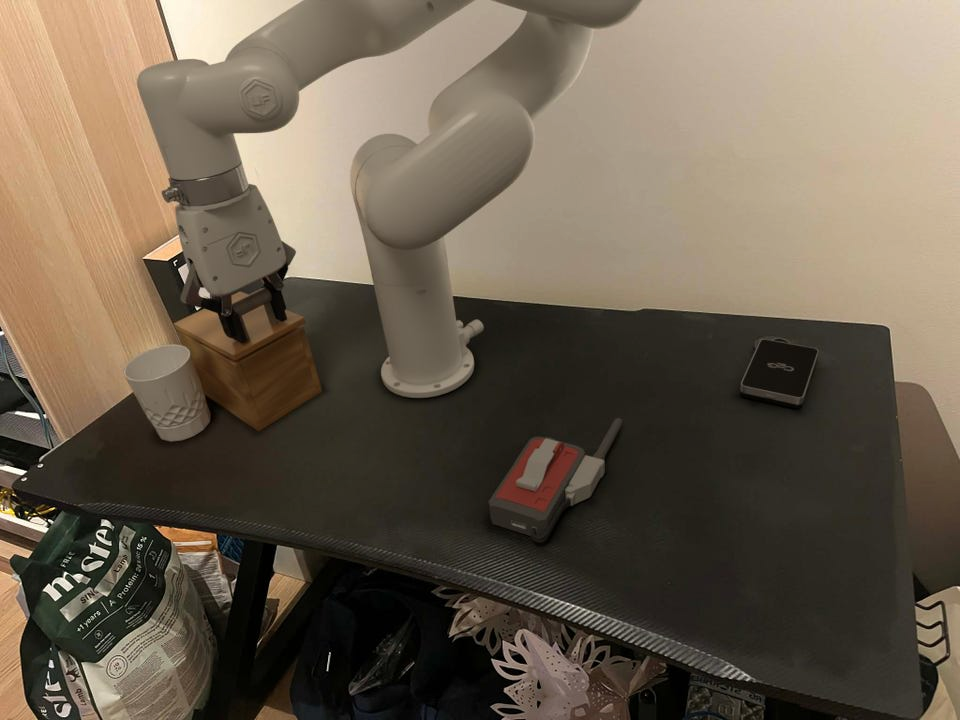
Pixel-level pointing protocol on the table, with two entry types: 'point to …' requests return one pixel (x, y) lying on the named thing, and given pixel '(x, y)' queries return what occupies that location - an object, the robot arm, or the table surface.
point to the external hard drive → (779, 373)
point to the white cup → (169, 391)
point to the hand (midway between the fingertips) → (258, 327)
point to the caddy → (258, 377)
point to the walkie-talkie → (547, 484)
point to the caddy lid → (254, 320)
